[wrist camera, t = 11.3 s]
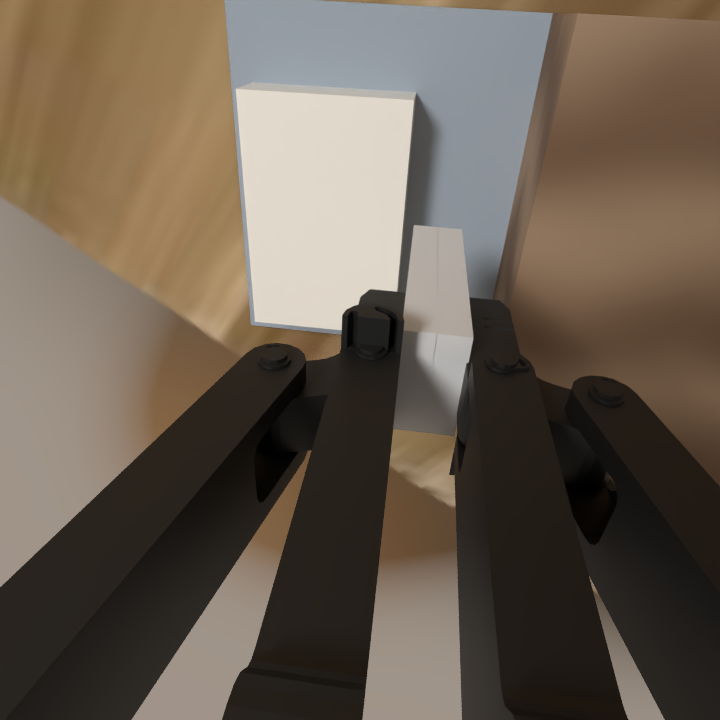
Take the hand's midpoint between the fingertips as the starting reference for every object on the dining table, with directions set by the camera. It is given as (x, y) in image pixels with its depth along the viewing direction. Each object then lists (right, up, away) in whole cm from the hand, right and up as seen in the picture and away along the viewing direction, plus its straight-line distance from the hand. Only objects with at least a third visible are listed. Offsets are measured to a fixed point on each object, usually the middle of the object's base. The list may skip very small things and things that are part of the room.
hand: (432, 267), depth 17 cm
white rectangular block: (-4, +2, +3) cm, 5 cm away
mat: (-2, +4, +4) cm, 6 cm away
